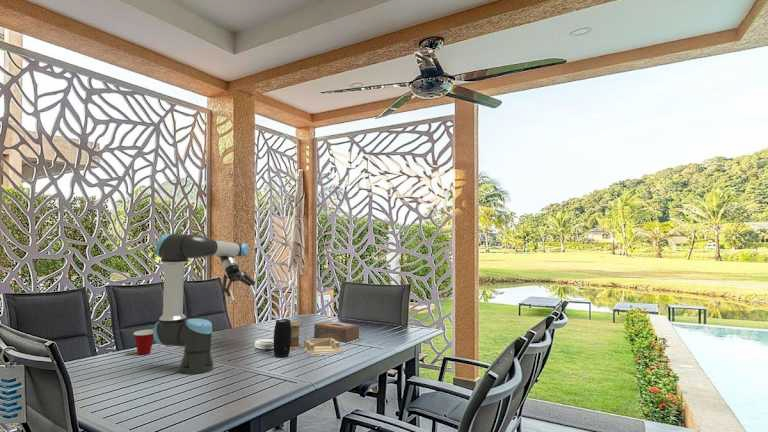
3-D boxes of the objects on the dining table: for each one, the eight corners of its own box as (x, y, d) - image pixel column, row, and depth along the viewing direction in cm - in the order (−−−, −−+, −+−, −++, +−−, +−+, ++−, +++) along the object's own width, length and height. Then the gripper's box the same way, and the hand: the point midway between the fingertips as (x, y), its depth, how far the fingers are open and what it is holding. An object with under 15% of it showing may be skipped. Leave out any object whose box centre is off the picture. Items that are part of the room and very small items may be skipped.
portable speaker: (290, 357, 224) (292, 321, 226) (272, 358, 222) (274, 321, 223) (290, 353, 233) (291, 318, 234) (272, 354, 230) (274, 318, 232)
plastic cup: (127, 354, 221) (129, 331, 222) (146, 350, 231) (148, 328, 232) (139, 357, 216) (141, 334, 217) (159, 353, 226) (160, 330, 227)
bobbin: (303, 348, 244) (304, 324, 246) (288, 350, 241) (290, 324, 242) (299, 345, 252) (300, 321, 253) (285, 346, 248) (286, 322, 249)
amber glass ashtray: (343, 354, 236) (343, 344, 236) (310, 357, 227) (311, 346, 228) (333, 346, 252) (333, 337, 252) (302, 349, 243) (302, 339, 244)
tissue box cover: (358, 340, 272) (359, 325, 272) (346, 345, 259) (346, 328, 260) (327, 335, 284) (327, 320, 285) (313, 339, 271) (314, 324, 272)
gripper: (247, 267, 258) (260, 296, 251) (208, 273, 240) (221, 306, 232) (252, 260, 254) (265, 290, 247) (213, 267, 235) (225, 299, 228)
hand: (243, 298), depth 239 cm, fingers open, 13 cm apart
